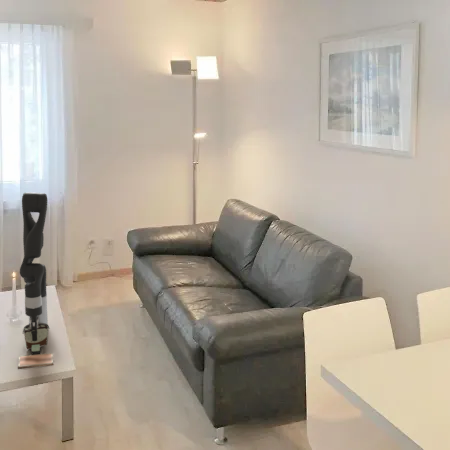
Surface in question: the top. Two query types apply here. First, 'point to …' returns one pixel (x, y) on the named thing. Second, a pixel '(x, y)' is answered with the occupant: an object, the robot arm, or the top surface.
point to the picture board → (35, 360)
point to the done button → (36, 347)
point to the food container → (41, 335)
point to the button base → (35, 352)
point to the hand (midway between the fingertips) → (34, 337)
